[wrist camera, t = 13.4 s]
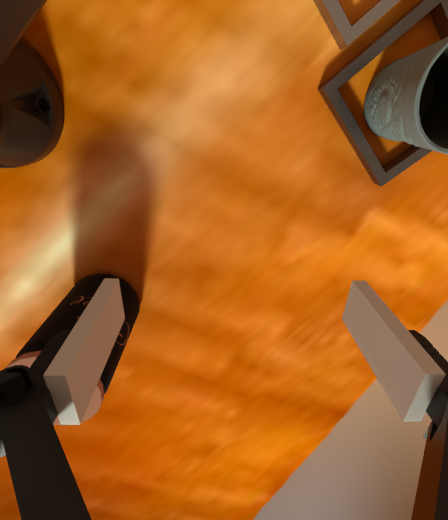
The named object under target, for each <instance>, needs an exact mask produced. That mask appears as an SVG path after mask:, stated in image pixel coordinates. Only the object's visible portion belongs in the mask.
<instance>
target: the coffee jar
mask: <svg viewBox="0 0 448 520" xmlns="http://www.w3.org/2000/svg"><path fill="white" fill-rule="evenodd" d="M105 278H114V279H119V284H120V290H121V296H122V303H123V309H124V315H125V319H124V322H123V324H122V327H121V329H120V331H119V334H118V336H117V338H116V341H115V343H114V346H113V348H112V350H111V353H110V355H109V358H108V360H107V362H106V365H105V367H104V369H103V372H102V374H101V377H100V379H99V381H98V384H97V386H96V389H95V391H94V393H93V396H92V398H91V400H90V403H89V405H88V408H87V410H86V412H85V415H84V417H83V420H82V422H83V421H85V420H88V419H90V418H91V417H92V416H93V415H94V414H96V413H97V412H98V411H99V409H100V406H101V403H102V401H103V398H104V394H105V393H106V391H107V389H108V387H109V384H110V382H111V380H112V377H113V375H114V372H115V370H116V367H117V365H118V362H119V360H120V358H121V355H122V353H123V350H124V348H125V345H126V343H127V340H128V338H129V335H130V333H131V331H132V328H133V326H134V323H135V321H136V318H137V316H138V313H139V300H138V298H137V295H136V293H135V291H134V290H133V289H132V288H131V287H130V285H129V284H128V283H126V282H125V281H123V280H122V279H120V278H118V277H115V276H112V275H104V274H96V275H91V276H87V277H85V278H83V279H82V280H80V281H78V282H77V284H76V285H75V286H74V287H73V288H72V290H71V291H70V292H69V293H68V294H67V296H66V297H65V298H64V299H63V300H62V302H61V303H60V304H59V305H58V306H57V307H56V309H55V310H54V311H53V312H52V313H51V315H50V316H49V317H48V318H47V319H46V321H45V322H44V323H43V324H42V325H41V326H40V328H39V329H38V330H37V331H36V332H35V334H34V335H33V336H32V337H31V338H30V340H29V341H28V342H27V343H26V344H25V345H24V347H23V348H22V349H21V350H20V352H19V353H18V354H17V356H16V359H14V360H13V361H12V362H11V363H10V364H9V365H8V366H7V367H6V368H8V367H11V366H14V365H24V366H28V367H29V368H30V366H31V365H32V364H33V362H34V361H35V359H36V358H37V356H39V354H40V352H41V351H42V349H43V348H44V346H45V345H46V344H47V342H48V341H49V339H50V338H51V337H52V336H54V335H55V334H56V333H57V332H59V331H60V330H72V329H73V328H74V326H75V324H76V323H77V321H78V320H79V318H80V316H81V315H82V313H83V312H84V310H85V309H86V307H87V305H88V304H89V302H90V301H91V299H92V298H93V296H94V294H95V293H96V291H97V290H98V288H99V286H100V285H101V283H102V282H103V280H104V279H105ZM53 425H61V424H60V421H59V419H58V416H57V417H56V419H55V421H54V423H53Z"/></svg>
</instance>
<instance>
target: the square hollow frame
mask: <svg viewBox="0 0 448 520" xmlns="http://www.w3.org/2000/svg"><path fill="white" fill-rule="evenodd" d="M429 12H430V13H431V15H432V17H433V20H434V22H435V25H436V27H437V30H438V32H439V35H440V37H441V39H442V40H443V39H445V38H446V37H448V0H420V1H419V2H418V3H417V4H416V5H414V6H413V7H412V8H411V9H410V10H409V11H407V12H406V13H405V14H404V15H403V16H402V17H400V18H399V19H398V20H397V21H396V22H395V23H393V24H392V25H391V26H390V27H389V28H388V29H387V30H385V31H384V32H383V33H382V34H381V35H380V36H378V37H377V38H376V39H375V40H374V41H373V42H371V43H370V44H369V45H368V46H367V47H366V48H364V49H363V50H362V51H361V52H360V53H359V54H357V55H356V56H355V57H354V58H353V59H352V60H350V61H349V62H348V63H347V64H346V65H345V66H343V67H342V68H341V69H340V70H339V71H338V72H337V73H335V74H334V75H333V76H332V77H331V78H330V79H328V80H327V81H326V82H325V83H324V84H323V85H321V86H320V87H319V88H318V90H319V92H320V94H321V95H322V97H323V99H324V100H325V102H326V104H327V105H328V107H329V109H330V110H331V112H332V114H333V115H334V117H335V119H336V120H337V122H338V124H339V125H340V127H341V129H342V130H343V132H344V134H345V135H346V137H347V139H348V140H349V142H350V144H351V145H352V147H353V149H354V150H355V152H356V154H357V156H358V157H359V159H360V161H361V162H362V164H363V166H364V167H365V169H366V171H367V172H368V174H369V176H370V177H371V179H372V181H373V182H374V183H375V184H377V185H379V186H383V185H384V184H386V183H387V182H388V181H390V180H391V179H393V178H394V177H395V176H397V175H398V174H400V173H401V172H403V171H404V170H405V169H407V168H408V167H410V166H411V165H413V164H414V163H415V162H417V161H418V160H420V159H421V158H422V157H424V156H425V155H427V154H428V153H430V152H431V151H432V150H429V149H425V148H421V147H417V146H414V145H412V146H411V147H410V148H408V149H407V150H406V151H404V152H403V153H401V154H400V155H399V156H397V157H396V158H394V159H393V160H392V161H390V162H389V163H388V164H386V165H385V166H383V167H382V166H381V164H380V162H379V161H378V159H377V157H376V155H375V154H374V152H373V150H372V148H371V147H370V145H369V143H368V141H367V140H366V138H365V136H364V134H363V133H362V131H361V129H360V127H359V126H358V124H357V122H356V120H355V119H354V117H353V115H352V113H351V112H350V110H349V108H348V106H347V105H346V103H345V101H344V100H343V98H342V96H341V94H340V93H339V91H338V88H339V87H341V86H342V85H343V84H344V83H345V82H347V81H348V80H349V79H350V78H351V77H353V76H354V75H355V74H356V73H357V72H358V71H360V70H361V69H362V68H363V67H364V66H366V65H367V64H368V63H369V62H370V61H372V60H373V59H374V58H375V57H376V56H377V55H379V54H380V53H381V52H382V51H383V50H385V49H386V48H387V47H388V46H389V45H391V44H392V43H393V42H394V41H395V40H397V39H398V38H399V37H400V36H401V35H402V34H404V33H405V32H406V31H407V30H408V29H410V28H411V27H412V26H413V25H414V24H416V23H417V22H418V21H419V20H420V19H421V18H423V17H424V16H425V15H426V14H427V13H429Z"/></svg>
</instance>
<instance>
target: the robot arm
mask: <svg viewBox="0 0 448 520" xmlns="http://www.w3.org/2000/svg"><path fill="white" fill-rule="evenodd" d="M46 1H47V0H0V168H16V167H21V166H25V165H29V164H33V163H35V162H38V161H40V160H42V159H43V158H45V157H46V156H47V155H48V154H49V153H50V152H51V151H52V150H53V149H54V148H55V146H56V145H57V143H58V141H59V139H60V136H61V133H62V129H63V122H64V110H63V102H62V98H61V94H60V90H59V87H58V85H57V82H56V80H55V78H54V76H53V74H52V72H51V70H50V69H49V67H48V65H47V64H46V63H45V61H44V60H43V58H42V57H41V56H40V55H39V53H38V52H37V51H36V50H35V49H34V48H33V47H32V46H31V45H30V44H29V43H28V42H27V41H25V40H24V39H23V38H22V36H23V34H24V33H25V31H26V30H27V28H28V27H29V26H30V24H31V23H32V21H33V20H34V18H35V17H36V15H37V14H38V13H39V11H40V10H41V8H42V7H43V5H44V4H45V2H46ZM124 319H125V315H124V309H123V303H122V296H121V290H120V284H119V279H114V278H105V279H104V280H103V282H102V283H101V285H100V286H99V288H98V290H97V291H96V293H95V294H94V296H93V298H92V299H91V301H90V302H89V304H88V305H87V307H86V309H85V310H84V312H83V313H82V315H81V316H80V318H79V320H78V321H77V323H76V324H75V326H74V328H73V329H72V330H60V331H59V332H57V333H56V334H55V335H54V336H52V337H51V338H50V339H49V341H48V342H47V344H46V345H45V346H44V348H43V349H42V351H41V352H40V354H39V356H37V358H36V359H35V361H34V362H33V364H32V365H31V366H30V368H29V367H28V366H24V365H14V366H11V367H8V368H5V369H3V370H2V371H0V457H2V456H5V455H6V457H7V461H8V465H9V470H10V474H11V478H12V482H13V486H14V490H15V494H16V499H17V503H18V507H19V511H20V515H21V519H22V520H91V518H90V515H89V513H88V510H87V508H86V505H85V503H84V500H83V498H82V495H81V493H80V491H79V488H78V486H77V483H76V481H75V478H74V476H73V473H72V471H71V468H70V466H69V463H68V461H67V458H66V456H65V454H64V451H63V449H62V446H61V444H60V441H59V439H58V436H57V434H56V431H55V429H54V426H53V423H54V421H55V419H56V417H57V416H58V419H59V421H60V424H61V425H80V424H81V422H82V420H83V417H84V415H85V412H86V410H87V408H88V405H89V403H90V400H91V398H92V396H93V393H94V391H95V389H96V386H97V384H98V381H99V379H100V377H101V374H102V372H103V369H104V367H105V365H106V362H107V360H108V358H109V355H110V353H111V350H112V348H113V346H114V343H115V341H116V338H117V336H118V334H119V331H120V329H121V327H122V324H123V322H124ZM342 320H343V322H344V323H345V325H346V327H347V328H348V330H349V332H350V333H351V335H352V337H353V338H354V340H355V342H356V343H357V345H358V347H359V348H360V350H361V352H362V354H363V355H364V357H365V359H366V360H367V362H368V364H369V365H370V367H371V369H372V370H373V372H374V374H375V375H376V377H377V379H378V380H379V382H380V384H381V385H382V387H383V389H384V390H385V392H386V394H387V396H388V397H389V399H390V401H391V402H392V404H393V406H394V407H395V408H396V410H397V412H398V414H399V416H400V417H401V419H402V421H403V422H404V421H408V422H411V421H422V419H423V417H424V415H425V413H426V412H427V413H428V415H429V416H430V418H431V419H432V422H431V423H430V425H429V427H428V429H427V431H426V433H425V434H424V437H423V438H425V439H426V438H427V440H426V445H425V451H424V457H423V461H422V466H421V472H420V477H419V482H418V488H417V493H416V498H415V503H414V508H413V514H412V519H411V520H448V362H447V361H446V360H445V359H444V358H443V356H442V355H440V354H439V352H438V351H437V350H436V349H435V348H433V345H432V344H431V343H430V342H429V341H428V340H427V339H426V338H425V337H424V336H422V335H421V334H419V333H418V332H417V331H415V330H407V329H406V327H405V326H404V325H403V324H402V323H401V322H400V320H399V319H398V318H397V317H396V316H395V315H394V313H393V312H392V311H391V310H390V309H389V308H388V306H387V305H386V304H385V303H384V302H383V301H382V299H381V298H380V297H379V296H378V295H377V294H376V292H375V291H374V290H373V289H372V288H371V287H370V285H369V284H368V283H367V282H366V281H352V284H351V287H350V291H349V295H348V299H347V302H346V306H345V310H344V314H343V317H342Z"/></svg>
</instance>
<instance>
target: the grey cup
mask: <svg viewBox="0 0 448 520" xmlns="http://www.w3.org/2000/svg"><path fill="white" fill-rule="evenodd" d="M364 116H365V119H366V122H367V124H368V126H369V127H370V129H371V130H372V131H373V132H374V133H375V134H377V135H378V136H380V137H383V138H386V139H390V140H393V141H403V142H406V143H408V144H413V145H414V146H417V147H421V148H425V149H429V150H433V151H436V152H440V153H444V154H448V37H446V38H445V39H443V40H440V41H438V42H436V43H434V44H432V45H430V46H428V47H426V48H423V49H421V50H419V51H417V52H415V53H413V54H411V55H408V56H406V57H404V58H401V59H398V60H396V61H394V62H392V63H390V64H389V65H387V66H386V67H385V68H384V69H382V70H381V71H379V73H378V74H377V76H376V77H375V78H374V79H373V81H372V83H371V84H370V87H369V89H368V91H367V94H366V98H365V103H364Z"/></svg>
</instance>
